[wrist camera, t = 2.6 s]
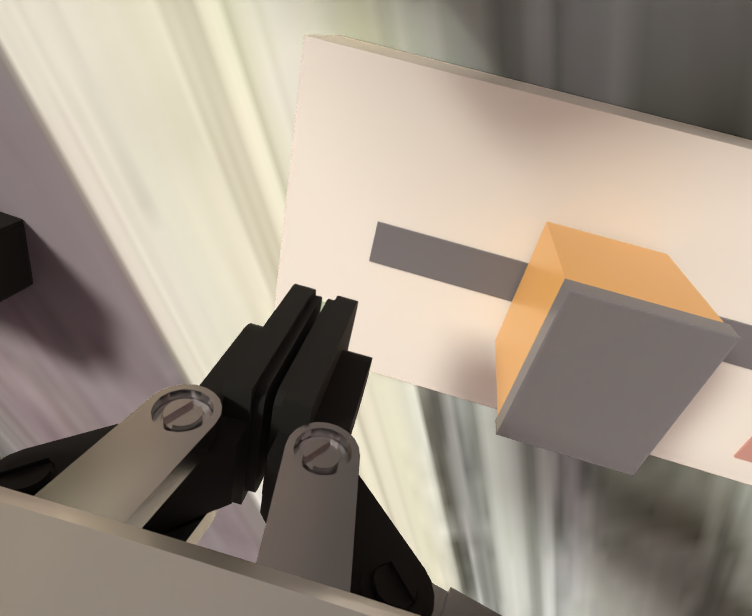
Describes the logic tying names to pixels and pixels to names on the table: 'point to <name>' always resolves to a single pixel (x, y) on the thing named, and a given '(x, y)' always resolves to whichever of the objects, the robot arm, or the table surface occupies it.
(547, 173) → the slider base
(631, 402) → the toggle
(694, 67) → the table surface
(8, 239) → the digital camera
